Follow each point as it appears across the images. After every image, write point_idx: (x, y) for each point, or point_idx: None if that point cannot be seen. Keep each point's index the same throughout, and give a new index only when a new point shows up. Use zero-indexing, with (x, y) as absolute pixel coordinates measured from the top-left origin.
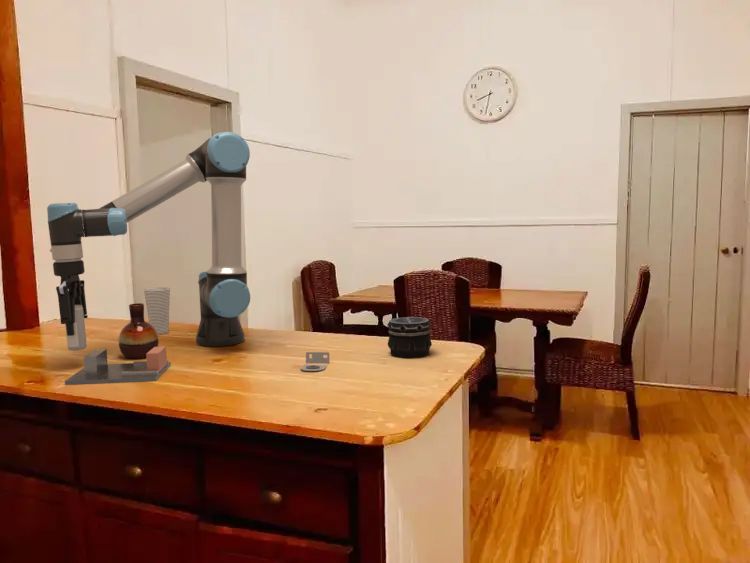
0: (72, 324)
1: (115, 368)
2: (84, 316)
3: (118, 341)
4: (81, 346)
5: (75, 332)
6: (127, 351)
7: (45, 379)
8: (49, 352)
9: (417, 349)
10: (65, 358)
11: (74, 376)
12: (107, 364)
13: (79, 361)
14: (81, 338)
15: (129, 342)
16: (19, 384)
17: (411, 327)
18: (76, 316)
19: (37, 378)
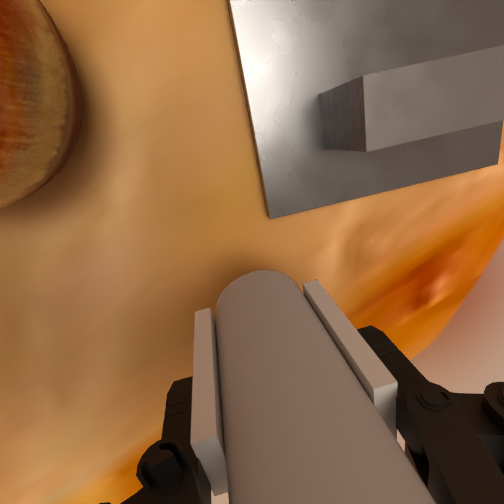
0: (406, 386)
1: (337, 39)
2: (175, 470)
3: (14, 201)
4: (286, 278)
5: (355, 334)
6: (80, 105)
7: (403, 272)
8: (64, 483)
9: None
10: (131, 389)
11: (444, 163)
12: (326, 91)
13: (164, 317)
14: (295, 299)
15: (55, 67)
16: (445, 308)
17: None
18: (399, 447)
19: (388, 303)
